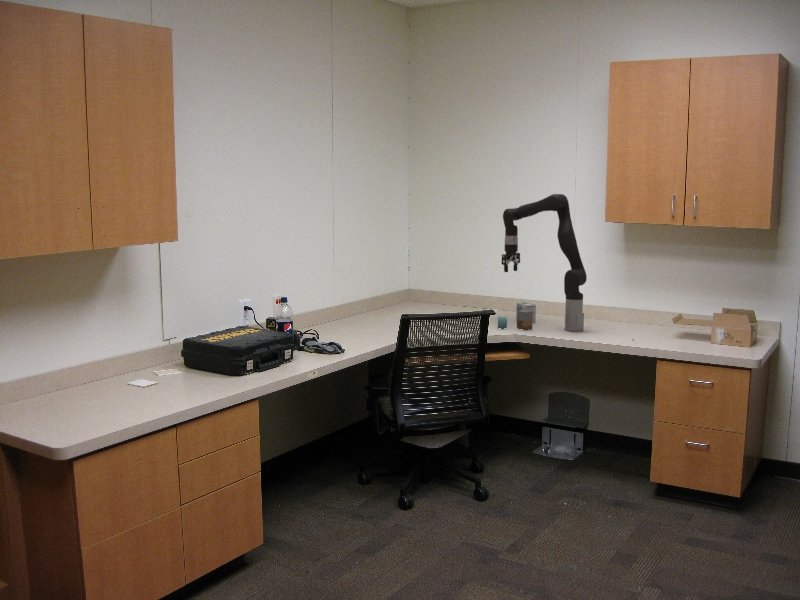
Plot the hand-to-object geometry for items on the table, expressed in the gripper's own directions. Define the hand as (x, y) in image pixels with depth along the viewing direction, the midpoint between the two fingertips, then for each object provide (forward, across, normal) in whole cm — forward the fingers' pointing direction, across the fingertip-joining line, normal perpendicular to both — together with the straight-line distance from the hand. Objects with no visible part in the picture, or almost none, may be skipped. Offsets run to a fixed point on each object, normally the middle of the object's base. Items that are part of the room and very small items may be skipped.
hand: (510, 271), depth 466 cm
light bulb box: (+29, +1, -11) cm, 31 cm away
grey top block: (+24, -16, -23) cm, 37 cm away
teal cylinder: (+28, -24, -14) cm, 40 cm away
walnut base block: (+28, -16, -23) cm, 40 cm away
